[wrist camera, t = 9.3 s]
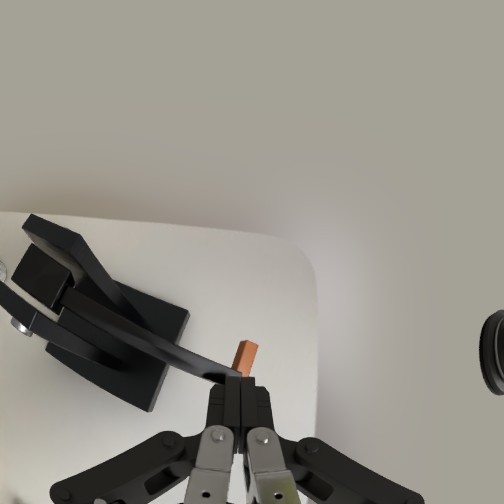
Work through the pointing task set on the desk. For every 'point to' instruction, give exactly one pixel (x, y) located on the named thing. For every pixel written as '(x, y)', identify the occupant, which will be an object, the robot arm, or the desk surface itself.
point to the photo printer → (2, 272)
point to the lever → (117, 319)
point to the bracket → (88, 336)
